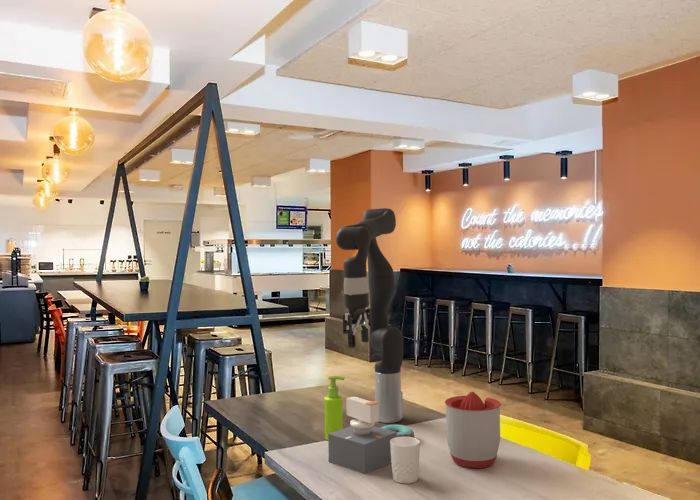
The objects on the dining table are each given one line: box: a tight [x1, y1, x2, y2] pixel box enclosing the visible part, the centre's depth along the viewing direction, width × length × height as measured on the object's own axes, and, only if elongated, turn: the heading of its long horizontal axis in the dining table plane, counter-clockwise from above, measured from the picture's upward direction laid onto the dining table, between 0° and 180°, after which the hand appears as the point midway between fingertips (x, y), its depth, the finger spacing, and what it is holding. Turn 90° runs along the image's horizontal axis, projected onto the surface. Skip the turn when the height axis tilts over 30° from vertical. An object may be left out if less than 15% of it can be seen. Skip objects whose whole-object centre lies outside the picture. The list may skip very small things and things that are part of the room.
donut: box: [380, 424, 415, 438], centre depth 186 cm, size 12×12×4 cm
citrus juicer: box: [444, 391, 501, 469], centre depth 168 cm, size 16×17×20 cm
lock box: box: [327, 425, 397, 474], centre depth 169 cm, size 14×14×10 cm
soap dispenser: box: [323, 375, 346, 441], centre depth 189 cm, size 6×7×20 cm
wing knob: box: [346, 396, 379, 429], centre depth 169 cm, size 11×7×7 cm, turn 38°
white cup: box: [390, 437, 421, 484], centre depth 155 cm, size 8×8×10 cm
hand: (358, 344), depth 179 cm, fingers open, 8 cm apart
